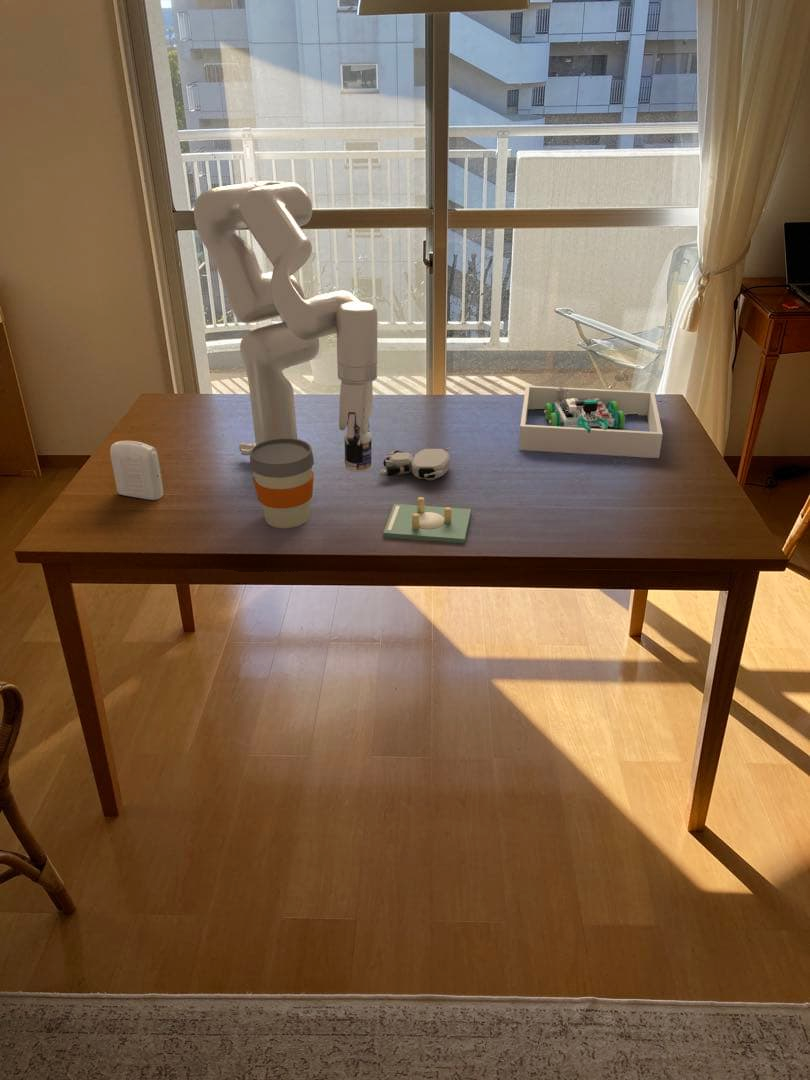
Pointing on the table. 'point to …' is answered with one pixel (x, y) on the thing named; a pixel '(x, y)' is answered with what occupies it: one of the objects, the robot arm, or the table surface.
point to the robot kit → (583, 412)
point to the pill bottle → (367, 453)
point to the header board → (427, 523)
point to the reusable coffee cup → (283, 480)
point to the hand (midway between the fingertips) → (358, 453)
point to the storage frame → (598, 438)
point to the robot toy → (418, 463)
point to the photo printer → (136, 470)
